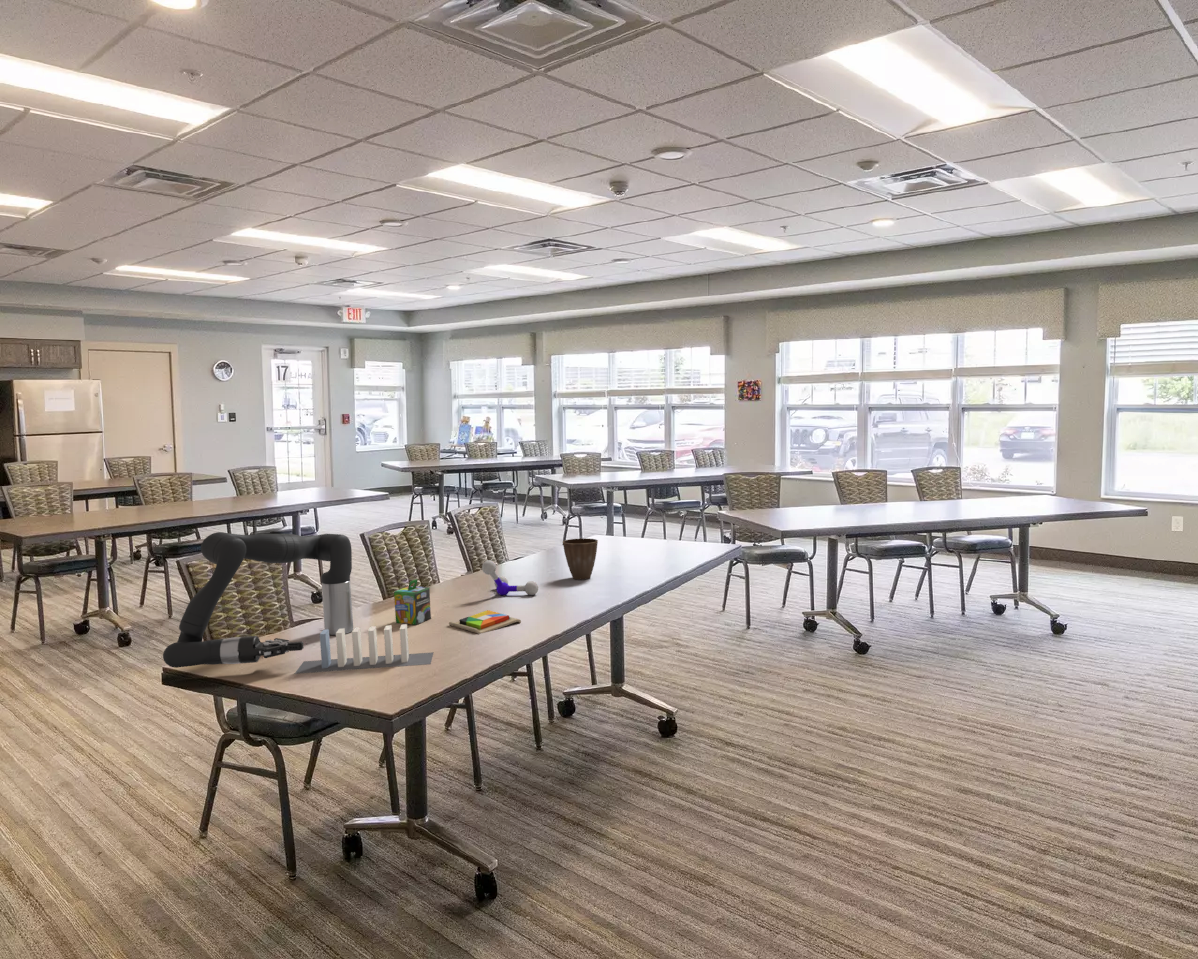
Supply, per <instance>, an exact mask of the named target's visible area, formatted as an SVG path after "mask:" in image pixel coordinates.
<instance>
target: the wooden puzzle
mask: <svg viewBox="0 0 1198 959" xmlns="http://www.w3.org/2000/svg"><path fill="white" fill-rule="evenodd" d="M458 620H459V621H457V622H453V621H448V625H449V626H451V627H453V628H458V629H462V630H463V631H464V630H465V631H468V632H472V633H475V634H478V635H479V634H481V635H482V634H485V633H488V632H493V631H496V630H499V629H501V628H504V627H506V626H509V625H511V624H515V623H519V624H521V623H522V621H521V619H520V618H516V617H512V616H510V615H507V614H504V613H500V612H496V611H494V610H487V609H486V610H483V611H482V612H478V613H476V614H473V615H470V616H466V617H463V618H461V619H460V618H459V619H458Z"/></svg>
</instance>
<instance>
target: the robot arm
mask: <svg viewBox="0 0 1198 959" xmlns="http://www.w3.org/2000/svg"><path fill="white" fill-rule="evenodd" d="M200 552H201V555H202V556H203V557H204V559H206V560H207V561H209V562H210V563H212V564H215V568H214V571H213V573H212V575H211V576H210V579H209V580H208V581H207V583H205V585H204V586H203V587H202V588H201V589H200V590H199V591H197V593H195V595H194V596H193V597H192V598H191V599H190V601H189V602H188V604H187V606H186V608H185V611H184V613H183V615H182V617H181V620H180V622H179V626H178V630H179V631H180V633H179V636H178V639H177V641H176V642H173V643H170V644H169V645H168V646H167V647H165V649H164V650H163V654H162V659H163V661H164V663H165V664H166V665H167V666H169V667H171V668H185V667H193V666H201V665H202V666H203V665H206V666H207V665H209V666H210V665H238V664H239V665H240V664H252V663H257V662H259V660H260V658H261V657H263V658H264V659H268V658H269V659H270V658H272V657H276V656H277V657H278V656H281V655H285V654H286V653H289V652H293V651H302V650H303V649H304V647H305V646H304V641H303V640H302V641H290V640H288V639H285V638H278V637H275V638H273V640H272V639H265V641H262V642H261V641H260V637H259V636H257V635H251V636H250V635H249V636H237V637H234V636H233V637H229V638H221V639H218V638H217V639H209V640H204V641H203V638H204V633H205V631H206V629H207V627H208V625H209V622H210V620H211V618H212V615H213V613H214V611H215V609H216V606H217V605H218V603H219V601H220V599H221V597H222V596H223V594H224V592H225V591H226V589H227V587H229V584H230V583H231V581H232V580H233V578H234V576H235V575H236V573H237V572H238V570H239V568H240V566H241V565H242V563H243V561H244V560H250V561H256V562H261V563H268V564H289V563H294V562H297V561H300V560H304V559H305V560H316V561H323V562H330V563H329V569H328V570H327V571H325V572H323V573H322V574H321V576H320V577H321V578H320V581H321V582H320V583H321V592H322V593H321V594H322V609H323V624H324V625H323V626H324V630H327V629H329V636H330V635H331V636H336V632H337V631H338V629H343V628H345V634H349V633H352V631H353V630H354V619H353V618H354V617H353V604H352V603H353V602H352V590H351V589H352V588H351V574H352V571H353V570H352V569H353V566H352V565H353V564H352V563H353V560H352V558H353V555H352V554H353V552H352V543H351V541H350V538H349V537H348V536H346V534H345V535H344V534H339V533H323V534H316V535H310V536H309V535H307V536H304V535H303V536H301V535H298V534H293V533H261V534H258V533H257V534H256V533H255V534H240V533H239V534H238V533H229V532H223V531H218V532H213V533H210V534H209V535H208V536H206V537H205V538H204V539H203V540H202V542H201V545H200Z"/></svg>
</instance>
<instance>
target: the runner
mask: <svg viewBox="0 0 1198 959" xmlns="http://www.w3.org/2000/svg"><path fill="white" fill-rule="evenodd" d="M433 657H434V652H433V651H432V652H431V651H430V652H418V653H409V658H408V661H407V662H403V663H402V661H401V654H393V661H392V663H389V664H386V658H385V655H378V660H377V663H376V664H375V665H370V658H369V656H362V662H361V664H360V666H354V658H353V657H347V662H346V664H345V665H344V667H338V659H337V658H334V659H332V658H331V664H330V665H329V667H328V668H322V661H321V659H317V660H305V661H303V662H302V663H301V664H300V666H299V667H298V668H297V670H296V671H295V672H294V675H299V674H300V675H301V674H312V673H314V674H315V673H326V672H327V673H329V672H341V671H355V670H356V671H357V670H369V669H381V668H382V669H383V668H384V669H385V668H395V667H409V666H410V667H412V666H425V665H426V666H427V665H431V664H432V660H433Z"/></svg>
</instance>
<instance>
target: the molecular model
mask: <svg viewBox="0 0 1198 959" xmlns="http://www.w3.org/2000/svg"><path fill="white" fill-rule="evenodd" d="M481 570H482V572H483V573H484V574H485V575H488V576H489V575H490V576H491V578H492V579H493V581H494V586H495V589H496V592H497V594H498V595H499V596H502V597H503V596H507V595H508V594H509V593H510V592H515V593H516V592H525V593H526V594H527V595H528V596H534V595H536V594H537V593H538V592H539V585H538V583H537V582H535V581H534V580H531V581H527V582H526V583H525V585H524V584H523V585H509V580H508V579H507V577H506V576H502V575H500V576H499V575H498V573H497V572H496V570H497V564H496V563H495V562H494V561H493V560H486V561H483V563H482V565H481Z"/></svg>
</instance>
